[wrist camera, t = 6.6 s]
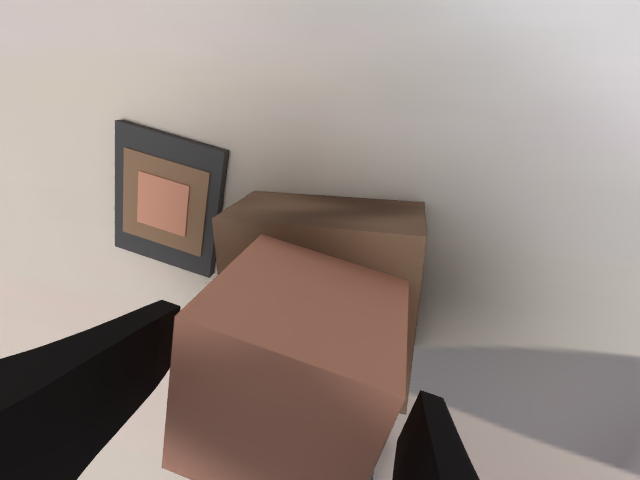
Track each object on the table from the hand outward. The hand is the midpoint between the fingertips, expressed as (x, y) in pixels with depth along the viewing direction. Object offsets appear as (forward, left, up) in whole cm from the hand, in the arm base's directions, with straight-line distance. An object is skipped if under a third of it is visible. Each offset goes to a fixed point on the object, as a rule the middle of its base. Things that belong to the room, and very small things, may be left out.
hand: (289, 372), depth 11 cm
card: (+8, -1, -6) cm, 10 cm away
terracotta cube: (0, 0, -3) cm, 3 cm away
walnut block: (0, 0, -7) cm, 7 cm away
